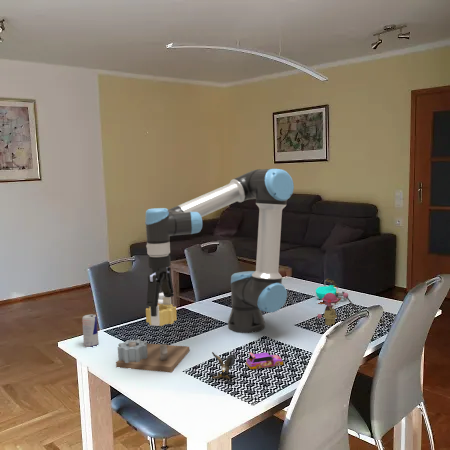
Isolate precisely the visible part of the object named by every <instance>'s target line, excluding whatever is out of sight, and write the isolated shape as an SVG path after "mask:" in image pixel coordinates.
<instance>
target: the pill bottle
mask: <svg viewBox="0 0 450 450" xmlns="http://www.w3.org/2000/svg"><path fill="white" fill-rule="evenodd" d="M163 297H165V296H164V294H163V292H159V299H158V305H159V304H163Z"/></svg>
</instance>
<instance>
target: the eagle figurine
mask: <svg viewBox="0 0 450 450" xmlns="http://www.w3.org/2000/svg"><path fill="white" fill-rule="evenodd" d="M211 354H212V356H213V357H215V359H216V360H218V364H219V366H220V367H221V372H217V375H215V376H212V378H213V379H216V378H217V379H220V378H225V379H228V380H230V379H231V378H230V376H229V370H230V371H231V370H232V368H231V367H233V366H234V365H235V360H236V359H237V358H236V357H237V356H236V355H235V354H232V353H231V354H229V355H228V356H227V357H226V358H225V362H224V363H223V360H222V359H221V357H220V356H218V355H217V354H215V352H213V351H212V352H211Z"/></svg>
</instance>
